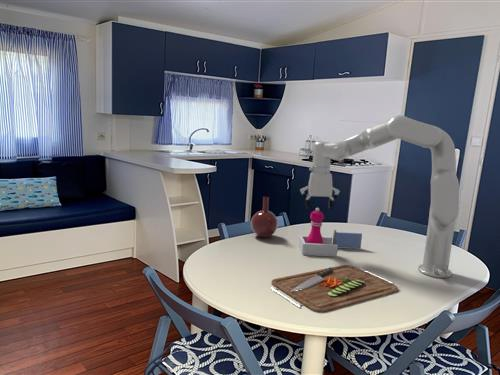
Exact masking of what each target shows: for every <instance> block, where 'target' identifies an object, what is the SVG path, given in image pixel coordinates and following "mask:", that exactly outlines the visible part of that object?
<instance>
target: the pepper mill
mask: <svg viewBox="0 0 500 375" xmlns="http://www.w3.org/2000/svg"><path fill="white" fill-rule="evenodd" d="M309 218H310V220H311V221H310V225H311V228H310V229H311V230H310V232H309V234H308V235H307V236H308V238H307V243H314V244H323V238H322V237H323V235H322V233H321V228H322V226H323V220H324V218H325V215H324V213H323V212H322V211H320V208H319V207H316V208H315V210H313V211H312V212H311V213H310V217H309Z"/></svg>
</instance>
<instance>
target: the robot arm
mask: <svg viewBox="0 0 500 375" xmlns="http://www.w3.org/2000/svg"><path fill="white" fill-rule="evenodd" d="M398 139H399V140H402V141H405V142H407V143H411V144H413V145H416V146H420V147H421V148H426V149H430V151H431V178H430V206H429V214H428V215H429V216H428V223H427V224H428V225H427V231H426V236H425V237H426V238H425V246H424V253H423V260H422V264H419V265H418V267H417V270H418V271H419V272H420V273H422V274H424V275H426V276H429V277H433V278H441V279H447V278H451V277H452V275H453V273H452V271H451V269H449V265H450V260H451V259H450V258H451V252H452V247H453V238H454V234H455V233H454V232H455V223H456V220H457V219H458V217H459V213H460V212H459V210H460V206H459V205H460V202H459V201H460V183H459V178H458V177H457V159H456V158H457V157H456V156H457V155H456V147H455V143H454V141H453V139H452V138H451V136H450V135H449V134H448V133H447V132H446V131H445V130H443V129H442V128H440V127H438V126H435V125H433V124H428V123H425V122H422V121H419V120H415V119H412V118H409V117H407V116H406V115H401V114H400V115H396V116H393V117H392V118H390V119H387V120H385V121H382V122H380V123H378V124H376V125H372V126H369V127H368V128H366V129H364V130H363V131H362V132H360V133H358V134H357V135H354V136H352V137H351V136H350V137H349V138H347V139H345V140H342V141H338V142H329V141H315V142H314V143H313V150H312V151H313V154H312V165H311V167H310V166H309V167H308V170H309V171H310V174H309V178H308V179H309V180H308V185H306V186H305V187H302V188H300V189H299V191H300V193H301V195H302V196H303V198H304V199H305V207H306V209H308V210H309V209H310V206H311V205H310V203H311V200H310V199H311V197H322V198H323V197H326V198H329V199H328V203H327V204H328V207H327V208H328V209H329V210H332V208H333V207H334V206H333V204H334V201H335V199H336V198H337V197H338V196H339V194H340V192H341V191H340V189H338V188H335V186H333V176H332V175H333V174H332V173H330V172H331V160H334V161H342V160H344V159H347V158H349V157H352V156H354V155H356V154H359V153H363V152H364V151H368V150H372V149H375V148H378V147H380V146H383V145H385V144H388V143H390V142H394V141H395V140H398ZM305 191H307V194H306V193H305ZM333 192H334V194H333Z"/></svg>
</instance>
